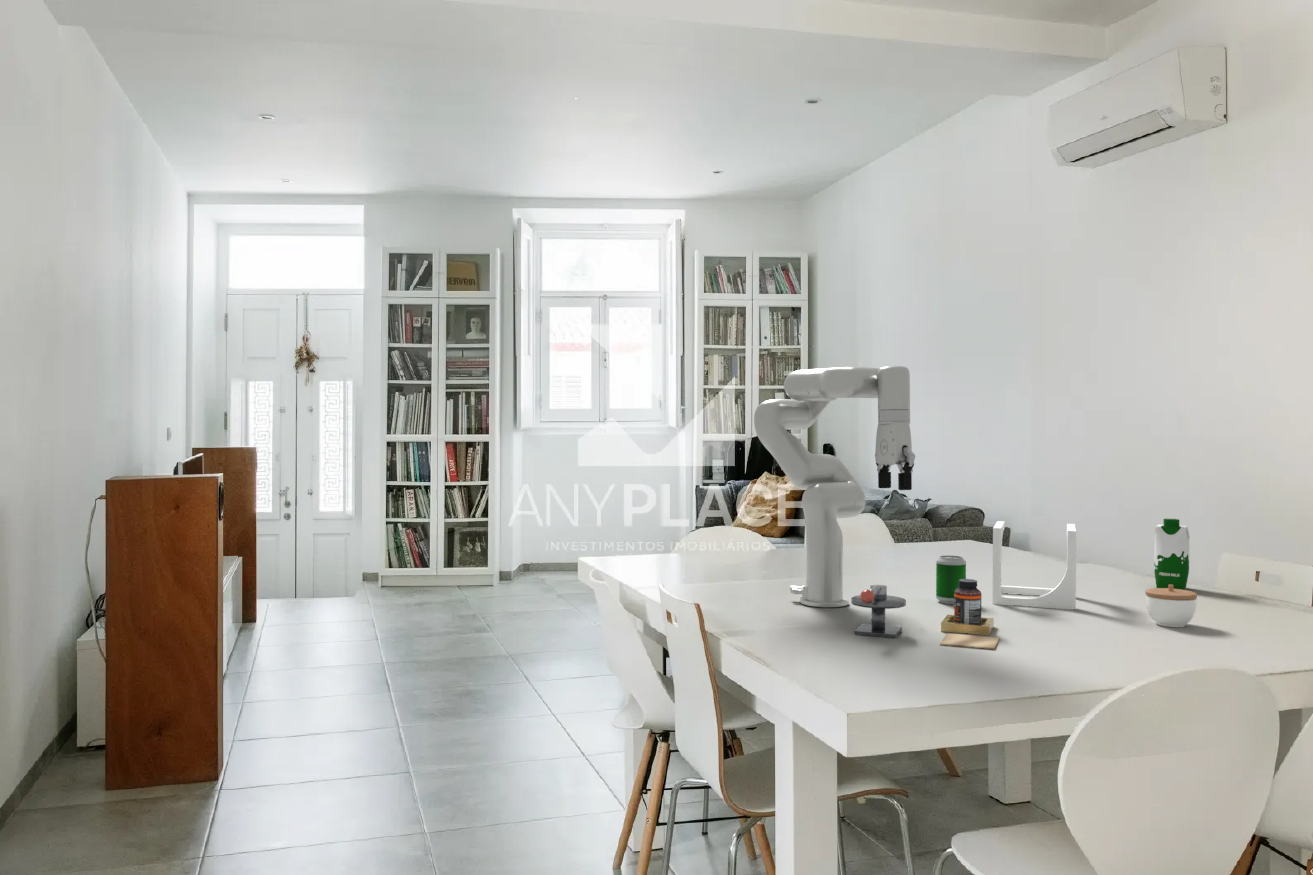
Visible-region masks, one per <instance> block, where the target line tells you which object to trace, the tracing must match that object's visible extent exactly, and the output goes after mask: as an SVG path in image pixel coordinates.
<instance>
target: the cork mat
mask: <svg viewBox="0 0 1313 875" xmlns="http://www.w3.org/2000/svg"><path fill="white" fill-rule="evenodd" d="M999 641H1000V638H999V637H998V636H997V637H996V636H987V635H975V634H963V633H951V632H946V634H945V635H944V637H943V638H942V639H941V641H940V643H939V646H944V645H947V646H946V647H955V646H956V647H957V648H967V647H975V648H974V649H978V648H985V649H984V650H989V649H992V650H993V651H995V649H996V647H997V645H998V642H999Z"/></svg>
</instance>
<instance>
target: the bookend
mask: <svg viewBox="0 0 1313 875" xmlns="http://www.w3.org/2000/svg"><path fill="white" fill-rule="evenodd" d="M1005 522H1006V521H1005V520H1003V521H1002V520H998V521H996V522H995V524H994V526H993V527H992V605H998V606H1013V605H1023V606H1022V607H1028V606H1031V608H1047V609H1062V610H1073V609H1076V608H1077V607H1076V606H1077V605H1076V604H1077V601H1076V600H1077V597H1076V596H1077V594H1076V592H1077V585H1076V583H1077V529H1076V524H1075V523H1066V568H1065V569H1066V570H1065V573H1064V576H1063V577H1062V579H1061V580H1060V582H1059V583H1058V584H1057V586H1056V587H1055V588H1052V587H1051V588H1049V587H1031V586H1015V585H1002V558H1003V557H1002V552H1003V551H1002V550H1003V535H1004V531H1005V529H1006V527H1005V525H1006V523H1005ZM1001 593H1008V594H1007V595H1017V594H1022V595H1023V596H1033V595H1042V596H1033V597H1023V596H1022V595H1021V596H1022V597H1021V596H1005V595H1003V596H1002V594H1001Z"/></svg>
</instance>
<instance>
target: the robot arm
mask: <svg viewBox="0 0 1313 875" xmlns="http://www.w3.org/2000/svg"><path fill="white" fill-rule="evenodd" d="M910 374H911V373H910V369H909V368H908V367H907V366H901V365H891V366H890V365H888V366H883V367H865V366H863V367H862V366H860V367H859V366H845V367H842V366H841V367H825V368H824V367H823V368H808V369H797V370H795V371H792V372H790V373H789V374H788V375H787V376H786V377H785V379H784V382H783V389H784V392H785V394H786V395H787V396H788V397H789V398H790V399H789V398H787V399H786V398H775V399H774V398H773V399H768V400H764V401H763V402H761V403H760V404H758V406H757V407H756V409H755V411H754V416H753V423H754V424H753V425H754V430H755V433H756V436H757V437H758V439H759V441H760V443H761V444H762V445H763V447H764V448H765V449H766V450H767V452H769V453H770V454H771V456H772V457H773V459H774V460H775V461H776V463H777V464H778V466H779V467H780V469H782V472H783V473H784V474H785V476H786V477H787V479H788V480H789V481H790V483H791V485H793V486H794V488H796V489H799V490H804V492H803V494H802V498H801V501H802V502H801V503H802V504H801V505H802V510H803V516H804V522H805V524H804V525H805V585H802V586H798V585H790V589H789V590H790V593H791V594H792V595H801V596H802V597H800V598H799V603H800V604H802V605H804V606H809V607H815V608H840V607H845V606H848V605H849V604H850V603H849V602H850V600H849V598H847V597H845V596H843V595H844V592H843V591H844V590H843V589H844V587H843V586H844V585H843V583H844V581H843V580H844V577H843V575H844V573H843V572H844V570H843V569H844V563H843V562H844V560H843V559H844V538H843V532H842V528H841V527H840V524H839V522H838V520H837V519H848V518H854V517H857V516H859V515H861V514H862V513H863V511H864V510H865V506H866V496H865V493H864V490H863V488H862V486H861V485H860V484H859V482H858V481H857V480H856V478H855V477H854V475H853V474H852V473H851V471H849V469H848V468H847V467H846V465H845V464H844V463H843V462H842V461H841V460H840V458H838V457H836V456H835V455H831V454H827V453H821V454H820V453H819V454H818V453H816V454H815V453H812V452H810V451H809V450H808V449H807V448H806V447H805V446H804V444H803V442H802V441H801V440H800V439H799V438H798V437H797V436H795V435H793V434H792V433H791V432H789V430H790V431H795V430H796V431H797V430H800V431H801V430H807V429H809V428H810V427H812V425H814V424H815V422H816V421H817V419H818V418H819V417H820V415H822V413H823V412H824V411H825V409H826V408H827V407H828V405H829V404H830V403H831V402H832V401H835V400H837V399H839V398H841V399H843V398H845V399H846V398H847V399H849V398H851V399H852V398H854V399H877V428H876V435H875V449H874V450H875V452H874V458H875V460H874V461H875V464H876V468H877V469H876V471H877V474H878V475H877V481H878V482H877V485H878V486H877V488H878V489H891V488H892V471H890V470H891V467H892V466H894V465H896V466H897V468H898V470H899V472H898V473H897V477H898V478H897V479H898V480H897V481H898V482H897V484H898V485H897V486H898V490H899V491H911V490H912V488H913V486H912V485H913V484H912V481H913V480H912V479H913V478H912V476H913V475H912V474H913V470H914V469H913V468H914V466H915V459H916V454H915V453H914V452H913V451H912V450H913V449H912V435H911V427H910V426H911V425H910V424H911V395H910V394H911V388H910V387H911V383H910V382H911V378H910V377H911V375H910Z"/></svg>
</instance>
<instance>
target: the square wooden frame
mask: <svg viewBox="0 0 1313 875" xmlns="http://www.w3.org/2000/svg"><path fill="white" fill-rule="evenodd" d="M994 621H995V620H994V617H983V616H981V625H976V624H964V623H954V614H946V616H945V617H944V618H943V619H942V621H941V622H940V632H944V633H952V634H965V633H968V634H967V635H977V634H980V635H979V636H990V635H991V632H992V631H993V629H994V627H995V626H994V624H995V622H994Z"/></svg>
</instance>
